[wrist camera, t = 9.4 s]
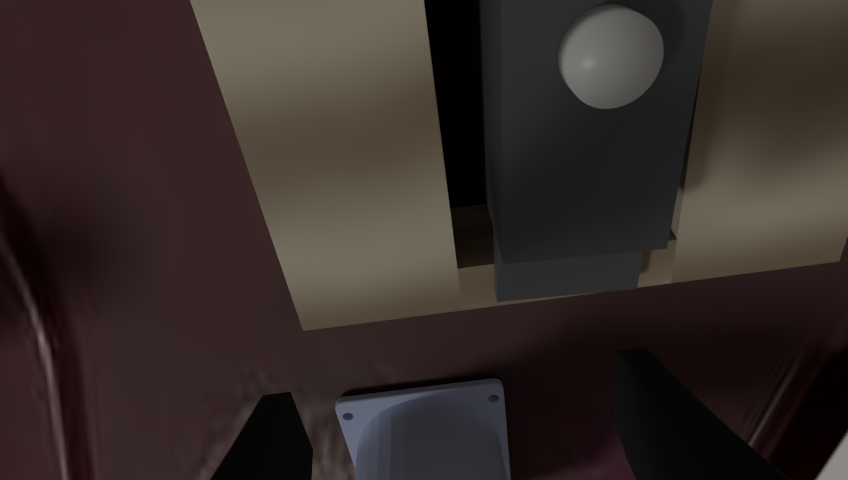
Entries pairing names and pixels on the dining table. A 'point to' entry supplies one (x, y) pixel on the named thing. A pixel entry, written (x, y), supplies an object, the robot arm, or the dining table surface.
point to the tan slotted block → (471, 225)
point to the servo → (582, 135)
